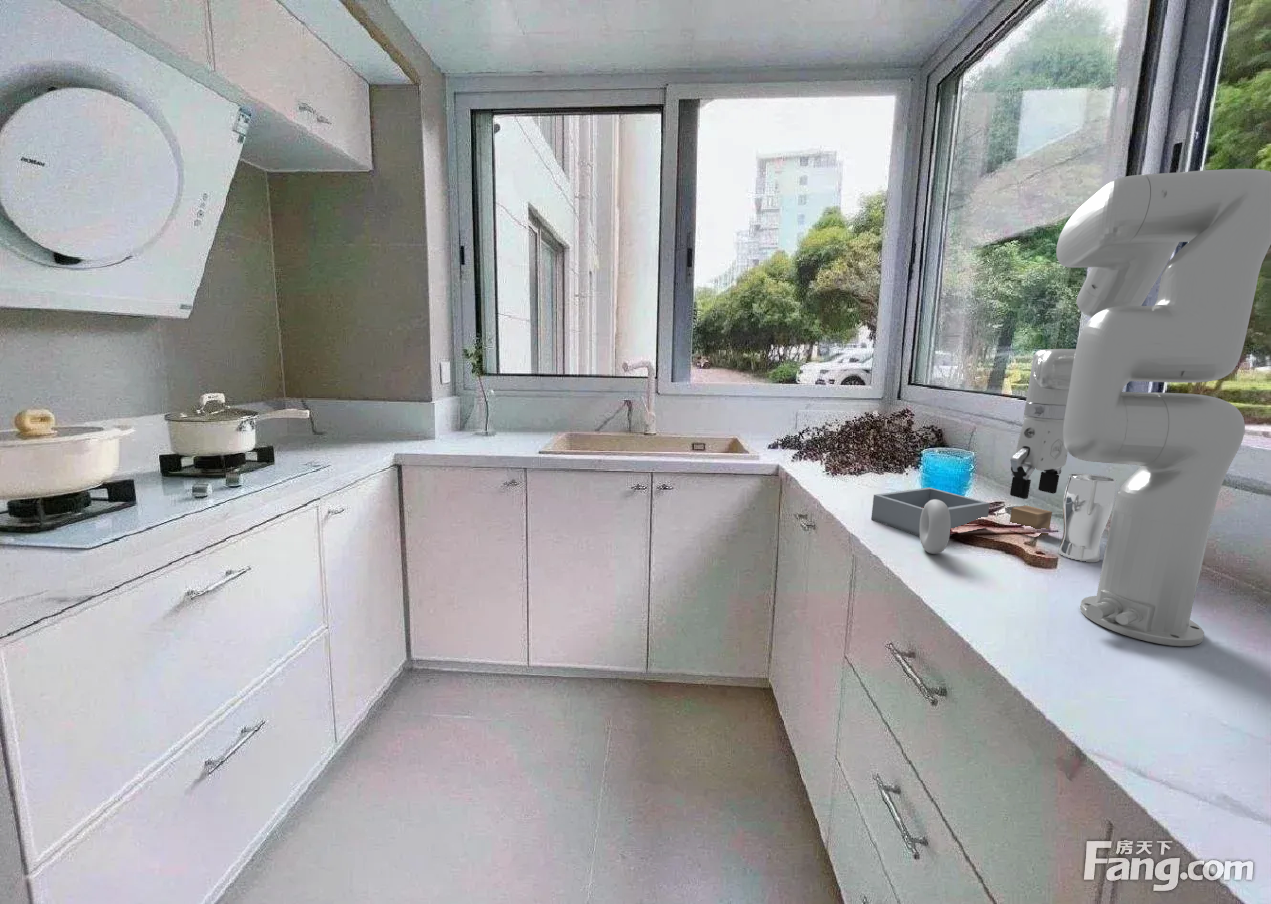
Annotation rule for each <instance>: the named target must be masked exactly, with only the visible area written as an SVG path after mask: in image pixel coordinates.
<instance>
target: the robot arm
mask: <svg viewBox="0 0 1271 904" xmlns="http://www.w3.org/2000/svg"><path fill="white" fill-rule="evenodd" d="M1180 243H1186V244H1185V245H1183V246H1182V248H1181V249H1179V250H1178V251H1177V253H1176V254H1174V252H1175V250H1176V249H1177V248H1178V246H1179V244H1180ZM1270 247H1271V171H1269V170H1266V169H1255V168H1227V169H1226V168H1224V169H1205V170H1191V171H1190V170H1189V171H1180V172H1165V173H1164V172H1163V173H1148V174H1144V173H1143V174H1136V175H1135V174H1134V175H1128V176H1122V177H1118V178H1116V179H1113V180H1111V181H1109V182H1108V183H1106V184H1105V185H1104V186H1102V187H1101V188H1100V189H1099V190H1098V191H1097V192H1096V193H1094V194H1093V195H1092V196H1090V198H1089V199H1087V200H1086V201H1085V202H1084V203H1083V204H1082V205H1081V206H1079V207H1078V209H1076V210H1075V212H1073V214H1072V215H1071V216H1070V218H1068V220H1067V222H1066V223H1065V225H1064V227H1063V228H1062V230H1061V232H1060V234H1059V237H1058V241H1057V245H1056V250H1055V251H1056V252H1055V253H1056V254H1055V255H1056V259H1057V261H1058V263H1059V264H1060V265H1061V266H1062V267H1066V268H1072V269H1073V268H1076V269H1077V268H1090V270H1089V271H1088V274H1087V276H1086V278H1085V281H1084V282H1083V284H1082V287H1081V288H1080V290H1079V291H1078V295H1077V297H1076V301H1075V302H1076V305H1077V309H1079V310H1080V312H1081V313H1083V314H1084V315H1086V316H1087V317H1089V318H1090V319H1088V321H1087V322H1086V324H1085V325H1084V326H1083V328H1082V330H1081V332H1080V334H1079V337H1078V340H1077V344H1076V346H1075V347H1076V348H1054V349H1053V348H1052V349H1051V348H1049V349H1048V348H1047V349H1039V350H1038V351H1036V352H1035V353H1034V355H1033V357H1032V362H1031V368H1030V374H1029V381H1028V386H1027V393H1026V399H1025V405H1024V412H1023V419H1024V420H1023V422H1022V425H1021V428H1020V429H1021V430H1020V432H1019V437H1018V440H1017V445H1016V451H1015V453H1014V455H1013V456H1011V457H1010V459H1009V460H1010V461H1009V462H1010V466H1011V467H1010V471H1011V477H1012V478H1011V479H1012V480H1011V484H1010V491H1009V495H1010V496H1011V497H1016V498H1019V499H1023V500H1027V499H1029V494H1030V490H1031V489H1030V488H1031V482H1032V480H1031V479H1030V477H1031V476H1032V475H1033V472H1034V470H1036V471H1040V475H1039V476H1040V477H1039V484H1038V488H1037V489H1038V491H1040V492H1044V493H1049V494H1056V493H1057V490H1058V484H1059V480H1060V479H1059V478H1060V475H1061V473H1062V468H1063V467H1064V466H1066V464H1067V459H1068V453H1069V455H1071V456H1072V457H1074V458H1075V459H1078V460H1082V461H1086V462H1093V463H1103V464H1115V465H1132V466H1139V468H1138V469H1137V470H1135V472H1134V473H1132V474H1131V475H1130V476H1129V477H1128V478H1127V479H1126V480H1125V481H1124V482H1123V483H1122V485H1120V488H1119V489H1118V490H1117V493H1116V494H1115V497H1114V503H1113V508H1112V511H1111V513H1112V514H1111V518H1110V524H1109V528H1108V534H1107V540H1106V543H1105V544H1106V545H1105V549H1104V556H1103V561H1102V565H1101V572H1100V576H1099V582H1098V586H1097V591H1096V592H1097V593H1096V595H1093V596H1091V595H1090V596H1088V597H1084V598H1083V599H1082V600H1081V601H1080V605H1079V610H1080V611H1081V613H1082V614H1083V616H1085V617H1086V618H1088V619H1089V620H1090V621H1091V622H1093V623H1095V624H1097V625H1099V626H1101V627H1103V628H1105V629H1108V630H1110V631H1112V632H1115V633H1118V634H1121V635H1123V636H1125V637H1129V638H1133V639H1136V640H1141V641H1144V642H1148V643H1154V644H1157V645H1165V646H1170V647H1171V646H1173V647H1174V646H1175V647H1191V646H1197V645H1199V644H1201V643H1203V640H1204V635H1205V631H1204V630H1203V628H1202V627H1201V626H1199V624H1198V623H1196V622H1195V621H1194V620H1191V615H1192V611H1193V610H1192V609H1193V607H1194V601H1195V597H1196V592H1197V589H1198V583H1199V578H1200V574H1201V570H1202V567H1203V561H1204V558H1205V553H1206V547H1207V543H1208V540H1209V536H1210V532H1211V531H1210V530H1211V525H1212V524H1213V518H1214V514H1215V510H1216V505H1217V502H1218V499H1219V495H1220V491H1221V488H1222V486H1223V482H1224V480H1225V478H1226V475H1227V473H1228V470H1229V468H1230V467H1231V465H1232V462H1233V461H1234V459H1235V457H1236V455H1237V453H1238V451H1239V450H1240V447H1241V445H1242V442H1243V440H1244V436H1245V431H1246V424H1245V420H1244V416H1243V414H1242V412H1241V411H1240V409H1238V407H1236V406H1235V405H1233V404H1232V403H1230V402H1229V401H1226V400H1224V399H1221V398H1219V397H1216V396H1210V395H1205V394H1198V393H1196V394H1195V393H1182V392H1181V393H1180V392H1179V393H1178V392H1177V393H1176V392H1175V393H1174V392H1143V391H1142V392H1140V391H1139V392H1138V391H1137V392H1136V391H1123V390H1124V389H1125V386H1127V384H1128V383H1130V382H1149V383H1150V382H1151V383H1183V384H1184V383H1185V384H1187V383H1194V384H1195V383H1208V382H1214V381H1218V380H1221V379H1223V378H1226V377H1227V376H1228V375H1230V374H1231V373H1232V372H1233V371H1234V369H1235V368H1236V367H1237V365H1238V363H1239V361H1240V360H1241V359H1240V358H1241V356H1242V352H1243V349H1244V345H1245V341H1246V336H1247V332H1248V327H1249V322H1250V317H1251V314H1252V308H1253V304H1254V301H1255V300H1254V299H1255V294H1256V291H1257V286H1258V285H1257V284H1258V279H1259V275H1260V271H1261V268H1262V264H1263V262H1264V260H1265V257H1266V255H1267V253H1268V251H1269V249H1270ZM1173 254H1174V256H1173ZM1170 258H1171V259H1170ZM1159 277H1160V281H1159V287H1158V293H1157V297H1156V301H1155V304H1154V305H1143V304H1144V302H1145V301H1146V299H1147V297H1148V295H1149V294H1150V292H1151V291H1152V289H1153V287H1154V285H1155V284H1156V282H1157V281H1158V279H1159Z"/></svg>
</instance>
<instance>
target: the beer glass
mask: <svg viewBox="0 0 1271 904" xmlns="http://www.w3.org/2000/svg"><path fill="white" fill-rule="evenodd" d="M1116 482H1117V480H1116V478H1113V477H1110V476H1105V475H1100V474H1094V473H1087V472H1085V473H1083V472H1072V473H1069V475H1068V479H1067V483H1066V486H1065V490H1064V493H1063V502H1062V518H1063V535H1062V538H1061V541H1060V544H1059V545H1058V549H1057V554H1058V555H1060V554H1061V555H1063V556H1066V557H1068V558H1067V559H1069V558H1071V559H1070V560H1072V559H1075V560H1074V561H1076V560H1080V561H1079V562H1082V561H1086V562H1085V563H1098V562H1099V561H1100V558H1101V555H1100V545H1101V544H1100V542H1101V538H1102V536H1103V533H1104V530H1105V529H1106V527H1107V524H1108V521H1109V519H1110V516H1111V515H1112V514H1111V513H1112V512H1113V507H1114V502H1115V498H1116V485H1117V484H1116ZM1061 555H1060V556H1061ZM1063 556H1062V557H1063ZM1066 557H1065V558H1066Z"/></svg>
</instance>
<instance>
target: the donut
mask: <svg viewBox="0 0 1271 904" xmlns="http://www.w3.org/2000/svg"><path fill="white" fill-rule="evenodd" d="M950 528H951V520H950V513H949V509H948V507H947V505H946V504H945V503H944V502H942V501H940V500H937V499H933V500H930V501H929V502H927V503H926V504H925V506H924V508H923V510H922V513H921V518H920V529H919V533H920V536H919V541H920V544H921V546H922V549H924V551H926V552H927V553H928V554H931V555H938V554H940V553H942V552H944V550H945V549H946V547H947V546H948V543H949V541H950V537H951V535H950Z"/></svg>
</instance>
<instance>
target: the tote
mask: <svg viewBox="0 0 1271 904" xmlns="http://www.w3.org/2000/svg"><path fill="white" fill-rule="evenodd" d="M933 499H937V500H940V501H942V502H944V503H945V504H946V505H947V507H948V509H949V513H950V520H951V528H955V527H958V526H961V525H964V524H967V523H969V522H971V521H974V520H976V519H978V518H981V517H988V516H989V513H990V505H991V503H990V502H989V501H984V500H980V499H975V498H973V497H972V498H971V497H968V496H965V495H960V494H956V493H952V492H950V491H949V492H948V491H945V490H940V489H936V488H933V487H929V486H928V487H924V488H915V489H908V490H900V491H899V490H898V491H894V492H893V491H891V492H885V493H876V494H873V499H872V508H871V516H870V517H871V520H873V521H875V522H878V523H880V524H883V525H886V526H889V527H892V528H895V529H898V530H901V531H903V532H906V533H908V534H912V535H915V536H917V537H920V533H919V529H920V518H921V513H922V510H923V508H921V507H924V506H925V504H926V503H927V502H929V501H930V500H933ZM988 518H989V517H988ZM951 528H950V529H951Z"/></svg>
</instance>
